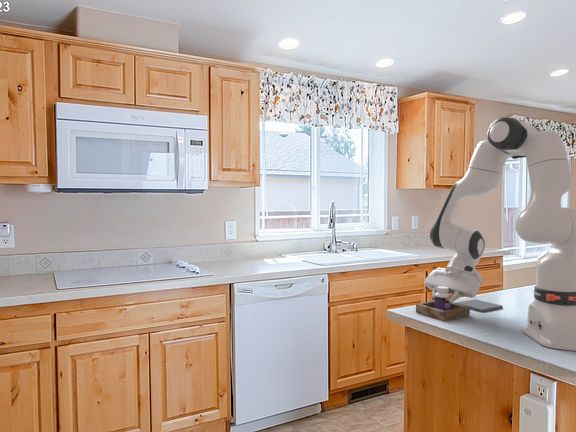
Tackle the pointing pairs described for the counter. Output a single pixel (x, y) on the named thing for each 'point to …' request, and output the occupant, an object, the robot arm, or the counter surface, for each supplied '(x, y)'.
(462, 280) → the robot arm
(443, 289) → the pill bottle
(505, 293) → the counter surface
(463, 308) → the wooden tray
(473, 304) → the rubber mat
